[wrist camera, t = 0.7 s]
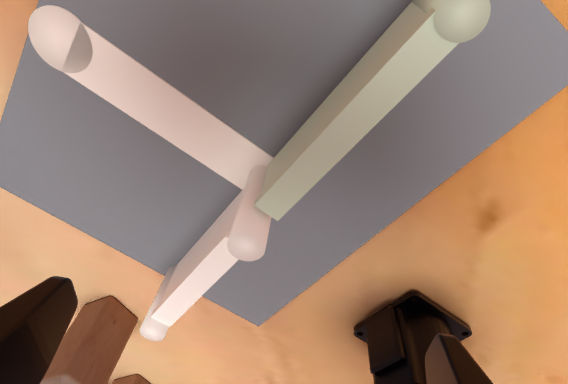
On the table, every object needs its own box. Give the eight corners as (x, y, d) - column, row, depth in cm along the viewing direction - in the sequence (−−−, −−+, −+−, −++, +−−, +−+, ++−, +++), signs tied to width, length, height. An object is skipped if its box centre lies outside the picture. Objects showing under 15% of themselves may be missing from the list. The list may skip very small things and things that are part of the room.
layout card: (590, 60, 17) (704, 116, 12) (259, 322, 31) (245, 401, 26) (172, -415, 11) (36, -722, 6) (-14, 173, 25) (-107, 238, 19)
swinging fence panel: (460, -7, 15) (501, 12, 12) (286, 176, 21) (278, 227, 18) (433, -35, 15) (468, -24, 11) (264, 161, 21) (250, 209, 17)
